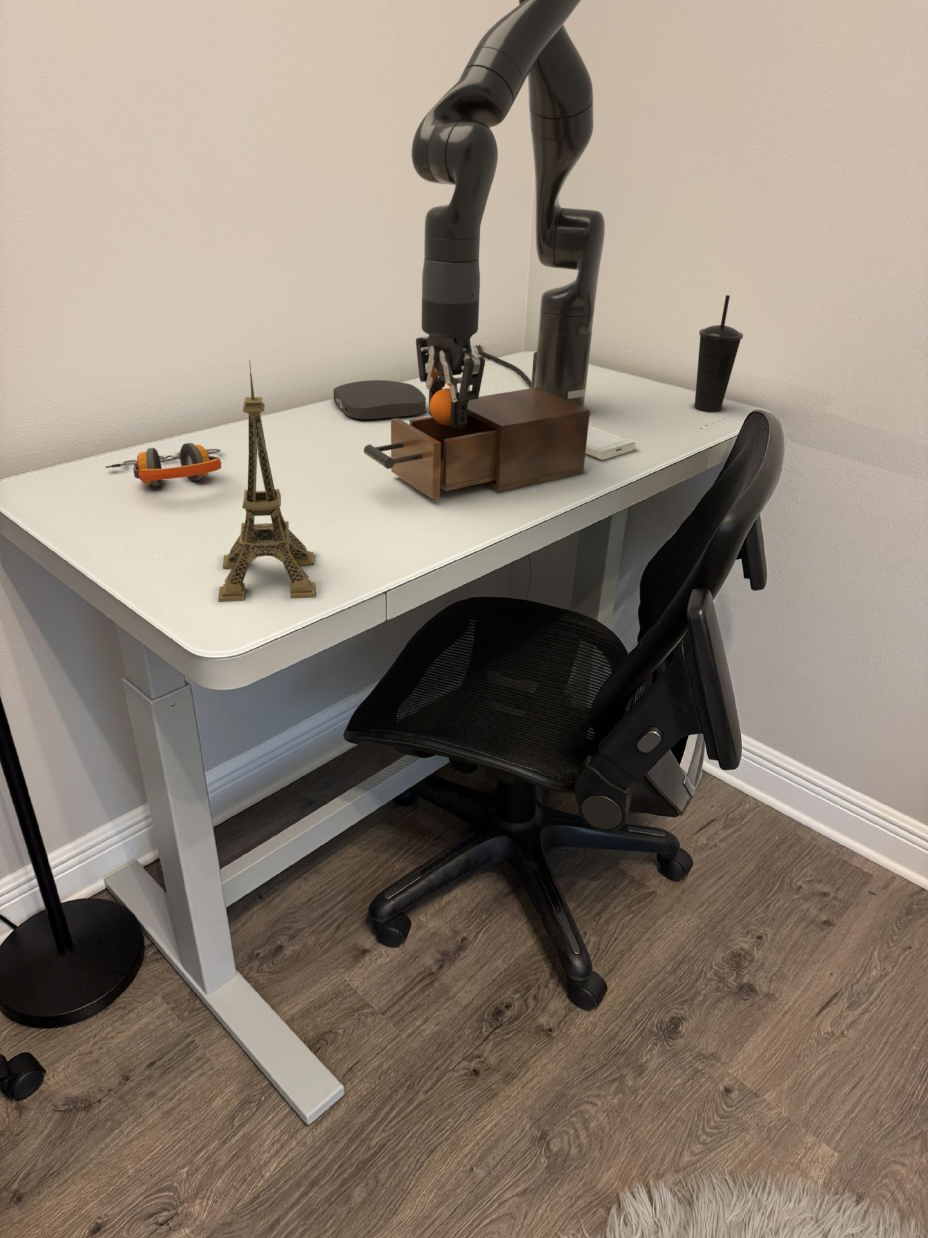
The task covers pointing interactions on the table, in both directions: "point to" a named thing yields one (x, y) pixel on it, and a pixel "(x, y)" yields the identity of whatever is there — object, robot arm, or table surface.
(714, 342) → the drinking cup
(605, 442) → the hard drive
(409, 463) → the drawer
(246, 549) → the eiffel tower
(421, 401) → the media streaming box
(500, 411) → the cabinet
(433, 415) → the ball
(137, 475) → the headphones
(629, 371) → the table surface
